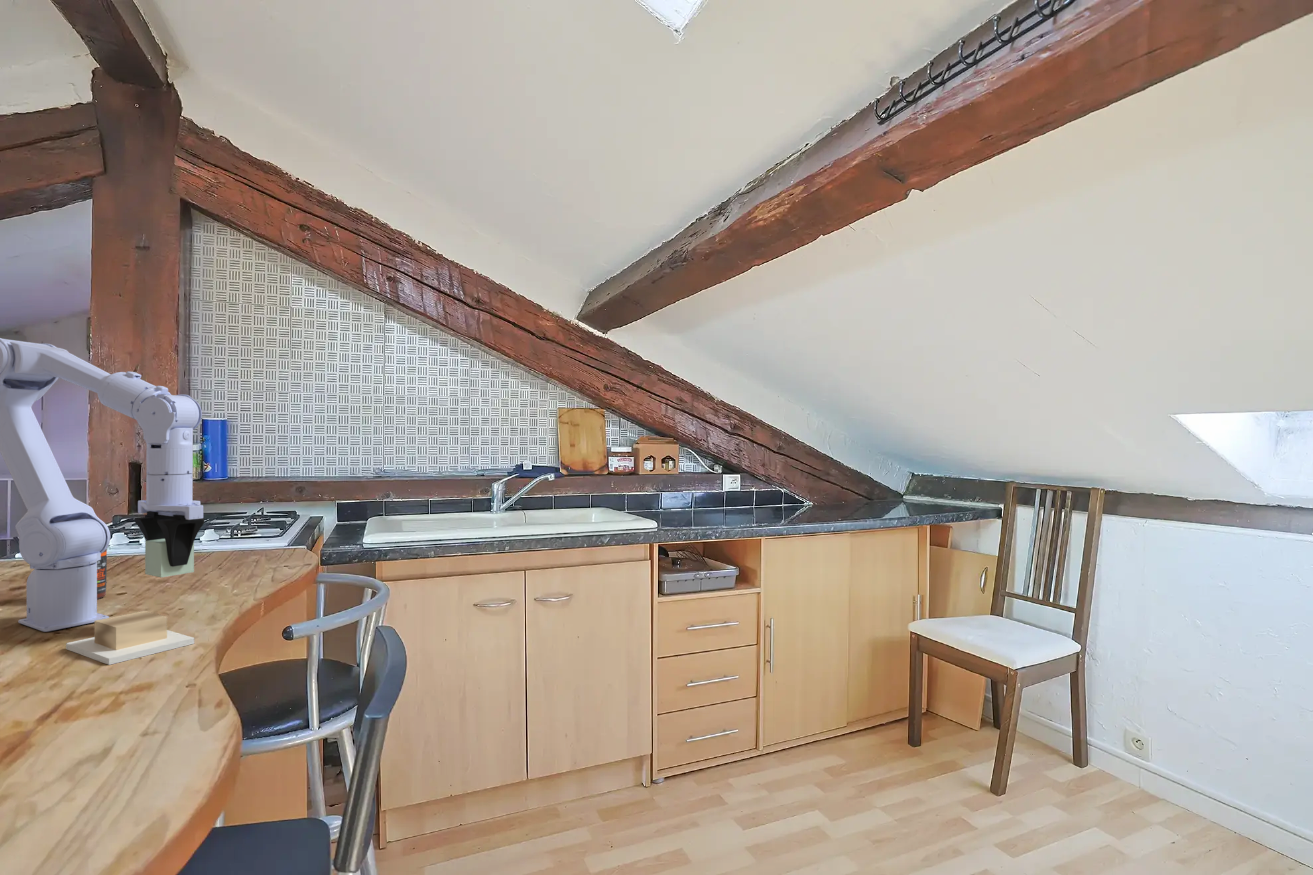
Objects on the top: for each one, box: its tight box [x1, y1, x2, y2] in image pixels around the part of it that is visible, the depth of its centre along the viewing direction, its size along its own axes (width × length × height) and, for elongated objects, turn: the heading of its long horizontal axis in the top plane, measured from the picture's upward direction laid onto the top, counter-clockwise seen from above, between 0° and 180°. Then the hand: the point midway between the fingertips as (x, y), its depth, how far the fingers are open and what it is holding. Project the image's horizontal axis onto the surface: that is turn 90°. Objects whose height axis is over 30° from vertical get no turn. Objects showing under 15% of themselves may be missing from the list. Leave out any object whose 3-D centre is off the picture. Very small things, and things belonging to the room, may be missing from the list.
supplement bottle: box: [97, 548, 108, 600], centre depth 118 cm, size 6×6×11 cm
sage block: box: [144, 539, 195, 578], centre depth 103 cm, size 4×4×5 cm
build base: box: [65, 610, 195, 666], centre depth 93 cm, size 12×10×4 cm
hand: (169, 563), depth 103 cm, fingers closed on sage block, 4 cm apart
